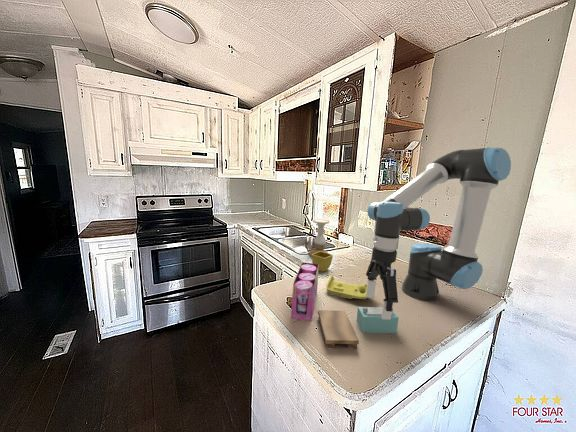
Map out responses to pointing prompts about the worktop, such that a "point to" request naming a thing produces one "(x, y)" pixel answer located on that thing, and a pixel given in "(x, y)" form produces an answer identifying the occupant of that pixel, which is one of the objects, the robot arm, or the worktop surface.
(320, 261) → the flower pot
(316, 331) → the worktop surface
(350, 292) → the plastic component
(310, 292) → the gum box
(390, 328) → the housing
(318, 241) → the candle holder
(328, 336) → the stand
